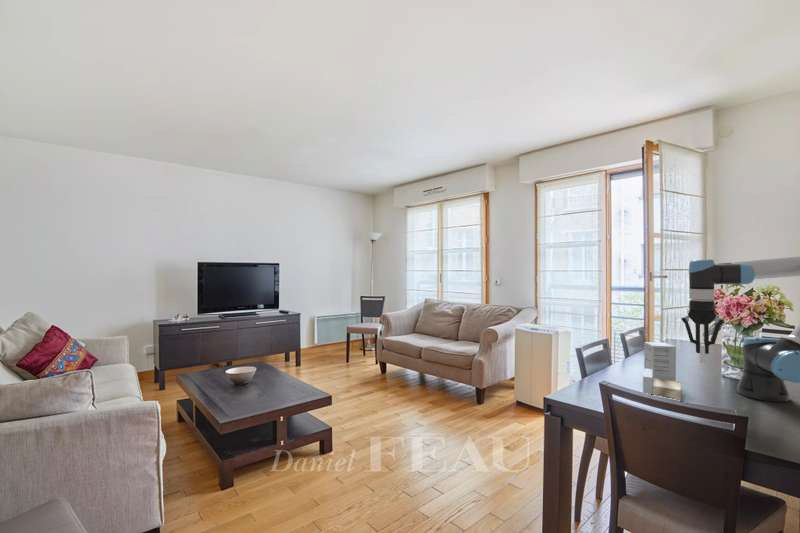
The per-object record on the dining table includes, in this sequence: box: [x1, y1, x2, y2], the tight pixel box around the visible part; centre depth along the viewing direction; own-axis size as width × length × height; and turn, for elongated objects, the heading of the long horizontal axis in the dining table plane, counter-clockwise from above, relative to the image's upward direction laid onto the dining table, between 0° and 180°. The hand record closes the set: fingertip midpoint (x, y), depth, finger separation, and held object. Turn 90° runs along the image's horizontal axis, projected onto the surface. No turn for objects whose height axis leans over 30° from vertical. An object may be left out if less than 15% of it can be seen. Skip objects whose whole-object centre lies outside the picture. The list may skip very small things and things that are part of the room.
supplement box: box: [643, 341, 677, 385], centre depth 172 cm, size 10×9×17 cm
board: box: [642, 367, 653, 394], centre depth 158 cm, size 3×14×8 cm, turn 146°
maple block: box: [652, 378, 682, 402], centre depth 154 cm, size 9×12×5 cm
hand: (702, 361), depth 148 cm, fingers closed
